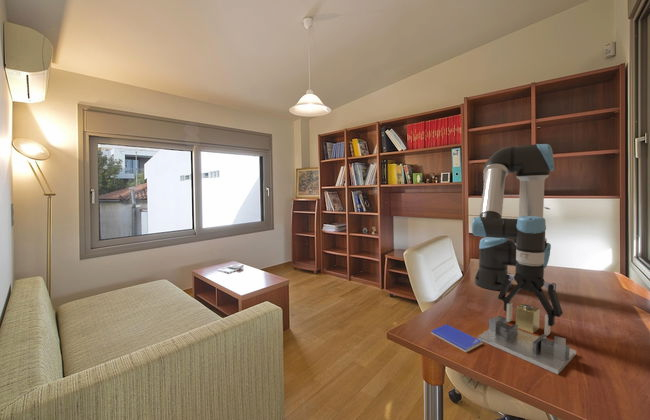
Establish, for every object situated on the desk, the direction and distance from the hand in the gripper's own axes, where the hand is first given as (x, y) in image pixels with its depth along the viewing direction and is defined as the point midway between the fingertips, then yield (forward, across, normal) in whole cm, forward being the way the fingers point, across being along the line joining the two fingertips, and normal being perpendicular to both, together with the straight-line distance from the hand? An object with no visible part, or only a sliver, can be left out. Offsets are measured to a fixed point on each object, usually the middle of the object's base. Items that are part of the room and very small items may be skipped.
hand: (527, 327), depth 93 cm
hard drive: (+1, -11, -25) cm, 27 cm away
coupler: (0, 0, 0) cm, 0 cm away
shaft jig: (0, +4, -13) cm, 14 cm away
